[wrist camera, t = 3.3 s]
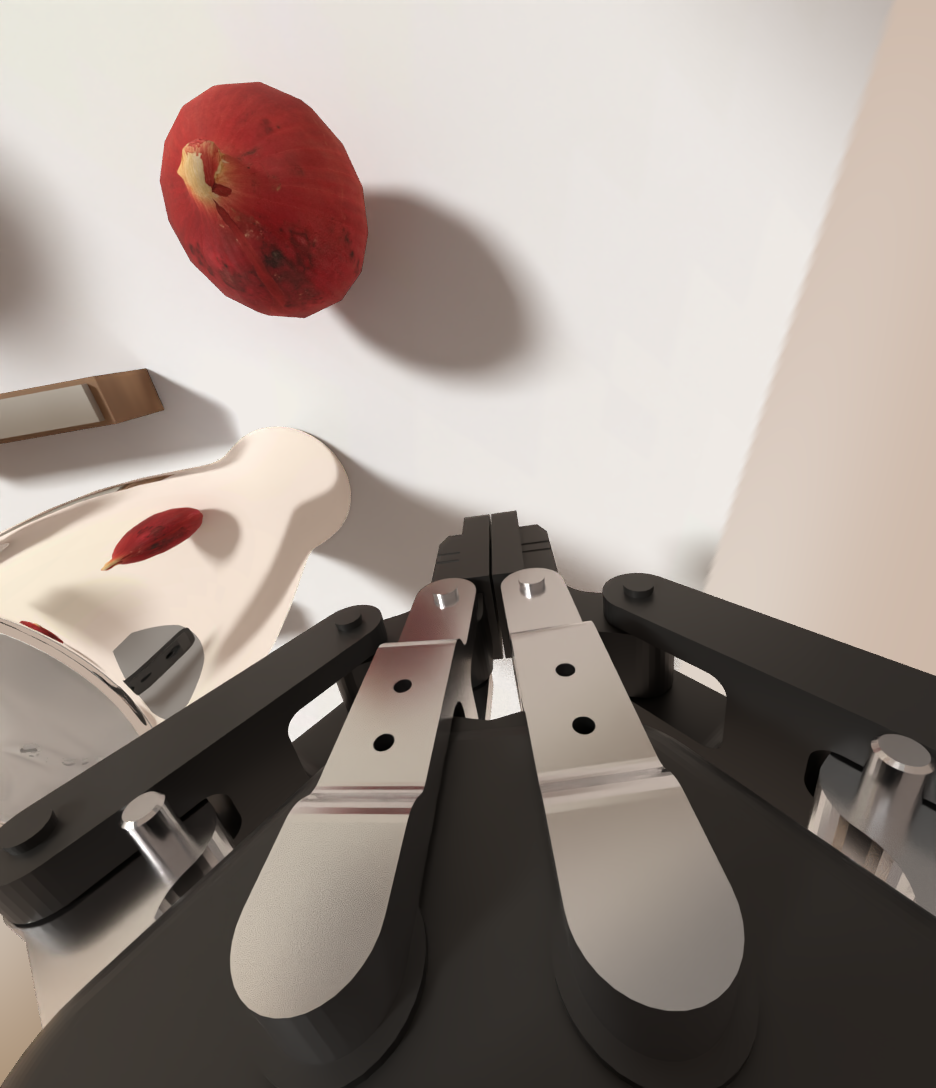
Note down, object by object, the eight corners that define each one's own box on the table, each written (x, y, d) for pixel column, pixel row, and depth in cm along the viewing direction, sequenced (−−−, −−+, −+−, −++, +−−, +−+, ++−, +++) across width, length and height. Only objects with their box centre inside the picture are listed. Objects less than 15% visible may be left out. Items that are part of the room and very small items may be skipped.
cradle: (-88, 412, 22) (-179, 427, 19) (146, 368, 20) (87, 377, 17) (59, 629, 27) (6, 668, 24) (251, 606, 26) (219, 644, 23)
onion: (413, 279, 18) (365, 255, 11) (291, 340, 20) (178, 354, 12) (340, 102, 16) (221, -70, 9) (207, 184, 17) (8, 90, 10)
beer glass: (373, 440, 21) (175, 652, 8) (348, 566, 24) (174, 875, 11) (221, 396, 21) (-274, 544, 7) (215, 531, 24) (-143, 811, 10)
